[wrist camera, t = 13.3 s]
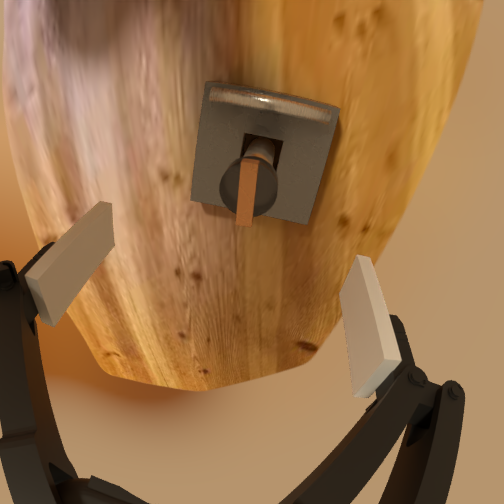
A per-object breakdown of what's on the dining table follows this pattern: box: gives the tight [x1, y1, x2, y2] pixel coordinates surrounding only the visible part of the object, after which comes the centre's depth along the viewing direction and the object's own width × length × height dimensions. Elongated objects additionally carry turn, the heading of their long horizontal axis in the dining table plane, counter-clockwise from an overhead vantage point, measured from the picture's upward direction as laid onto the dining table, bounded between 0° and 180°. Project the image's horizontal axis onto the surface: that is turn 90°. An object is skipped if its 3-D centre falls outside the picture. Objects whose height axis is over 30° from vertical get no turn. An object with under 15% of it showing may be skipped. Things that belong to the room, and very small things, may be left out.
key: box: [219, 137, 278, 227], centre depth 28 cm, size 5×4×14 cm
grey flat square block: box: [190, 81, 340, 225], centre depth 32 cm, size 14×14×4 cm
